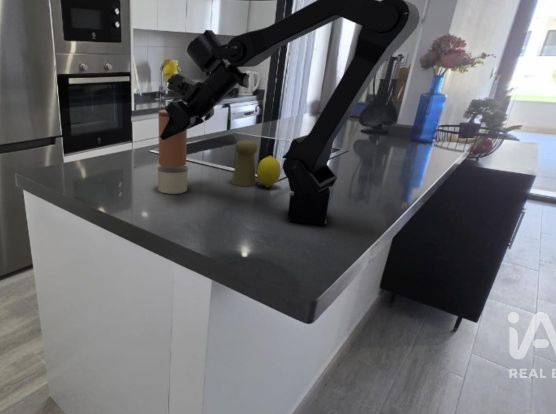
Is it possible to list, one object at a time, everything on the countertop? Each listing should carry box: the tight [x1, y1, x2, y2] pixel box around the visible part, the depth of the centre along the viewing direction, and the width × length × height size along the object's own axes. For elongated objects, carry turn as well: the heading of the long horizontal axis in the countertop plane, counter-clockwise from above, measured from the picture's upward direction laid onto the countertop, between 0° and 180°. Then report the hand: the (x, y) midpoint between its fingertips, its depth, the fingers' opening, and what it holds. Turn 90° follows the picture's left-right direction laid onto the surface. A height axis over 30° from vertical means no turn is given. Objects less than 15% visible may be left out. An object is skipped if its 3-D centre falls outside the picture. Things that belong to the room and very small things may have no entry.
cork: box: [231, 139, 258, 187], centre depth 97 cm, size 6×6×11 cm
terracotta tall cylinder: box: [157, 109, 188, 167], centre depth 90 cm, size 7×7×12 cm
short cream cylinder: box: [157, 165, 189, 195], centre depth 94 cm, size 7×7×6 cm
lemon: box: [256, 155, 282, 188], centre depth 94 cm, size 6×6×8 cm
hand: (167, 135), depth 91 cm, fingers closed on terracotta tall cylinder, 6 cm apart
